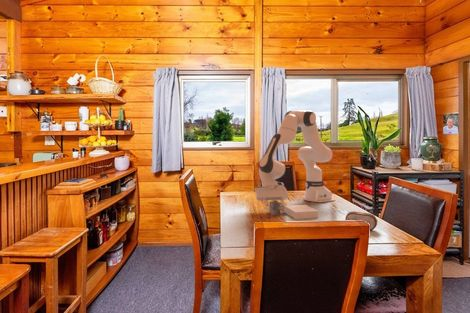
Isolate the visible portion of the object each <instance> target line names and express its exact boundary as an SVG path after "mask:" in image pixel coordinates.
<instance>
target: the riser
mask: <svg viewBox="0 0 470 313" xmlns="http://www.w3.org/2000/svg"><path fill="white" fill-rule="evenodd" d="M283 208H284V212H283V213H285V214H286V215H288V216H290V217H291V218H293V219H294V218H295V219H294V220H303V219H304V220H305V218H306V219H316V218H317V219H318V218H319V210H317V209H315V208H313V207H311V206H309V205H307V204H293V205H292V204H291V205H284V207H283Z"/></svg>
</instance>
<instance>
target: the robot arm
mask: <svg viewBox="0 0 470 313" xmlns="http://www.w3.org/2000/svg"><path fill="white" fill-rule="evenodd" d="M316 120H317V118H316V113H315V112H314V111H313V110H309V109H308V110H306V109H299V110H289V111H287V112H286V113H285V114H284V117H283V120H282V122H281V123H280V127H279V130H278V132H277V133H275V134H274V135H273V136H272V138H271V140H270V141H269V144H268V145H267V148H266V150H265V151H264V154H263V156H262V157H261V158H260V160H259V164H258V165H259V166H258V167H259V168H258V175H259V178H260V181H261V186H256V187H254V193H255V199H256V201H259V202H261V201H262V203H263V204H265V207H268V206H270V203H269V202H268V201H279V200H280V206H283V205H284V200H287V199H288V197H289V192H288V190H287V188H286V187H285V184H284V183H283V182H280V181H277V179H280V178H282V177H283V176H284V175H285V173H286V165H285V164H284V163H282V162H281V161H278V160H276V159H274V156H275V153H276V151H277V150H278V148H279V146H280V145H290V144H291V143H292V142H294V140H295V138H296V135H297V132H298V127H299V128H301V134H302V139H303V142H304V143H305V144H306V145H307V146H301V147H300V148H299V149H298V150H297V157H298V159H299V160H301V162H302V164H303V165H304V168H305V173H306V174H305V175H306V178H305V191H304V196H303V200H305V201H307V202H315V203H327V202H335V201H336V198H334V197H333V194H332V191H331V190H329V189H328V188H327V187H326V186H325V185H327V184H328V183H327V181H324V180H323V170H322V169H321V168H320V167H319V166H318V165H317V163H327V162H330V161H331V160H332V158H333V151H332V149H331V148H330V147H328V146H327V145H325V143H324V142H323V141H322V140H321V137H320V133H319V128H318V125H317V124H318V123H317V121H316Z"/></svg>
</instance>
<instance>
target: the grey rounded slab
mask: <svg viewBox="0 0 470 313" xmlns="http://www.w3.org/2000/svg"><path fill="white" fill-rule="evenodd" d="M345 220H363V221H366V222H367V223H369V224H370V231H373V230H374V229H375V228H377V225H378V219H377V218H376V216H375V215H373V214H372V213H367V212H360V211H350V212H348V213H347V214H346V216H345Z"/></svg>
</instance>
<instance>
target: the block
mask: <svg viewBox="0 0 470 313" xmlns="http://www.w3.org/2000/svg"><path fill="white" fill-rule="evenodd" d="M280 202H281V201H280ZM280 202H279V200H271V201H269V214H270V215H272V216H277V215H278V216H279V215H281V205H280Z"/></svg>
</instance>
